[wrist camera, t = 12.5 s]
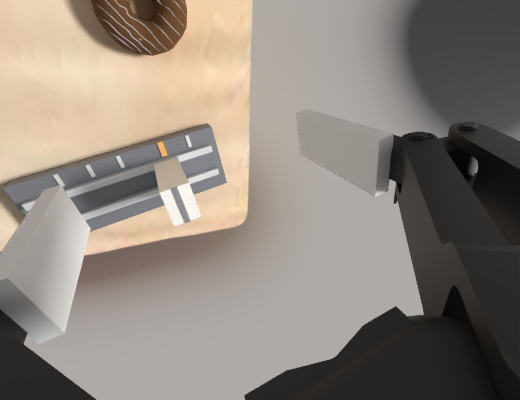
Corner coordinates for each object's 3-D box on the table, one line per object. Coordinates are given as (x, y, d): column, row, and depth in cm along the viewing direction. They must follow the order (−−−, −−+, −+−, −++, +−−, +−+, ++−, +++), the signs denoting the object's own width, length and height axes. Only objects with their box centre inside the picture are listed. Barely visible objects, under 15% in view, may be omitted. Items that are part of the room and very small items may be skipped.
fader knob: (153, 162, 39) (159, 193, 30) (176, 154, 40) (189, 183, 31) (165, 190, 41) (174, 227, 32) (186, 183, 42) (201, 216, 33)
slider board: (9, 181, 35) (-1, 191, 32) (207, 123, 42) (212, 128, 39) (53, 237, 40) (48, 250, 38) (223, 177, 47) (228, 184, 45)
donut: (164, -58, 31) (168, -71, 28) (196, 43, 37) (202, 41, 34) (70, -40, 29) (62, -53, 25) (120, 64, 34) (118, 65, 31)
